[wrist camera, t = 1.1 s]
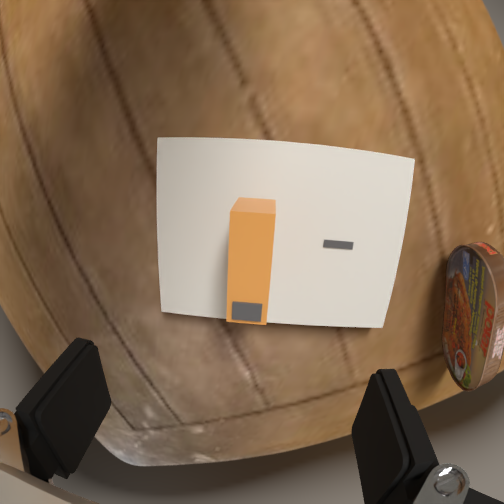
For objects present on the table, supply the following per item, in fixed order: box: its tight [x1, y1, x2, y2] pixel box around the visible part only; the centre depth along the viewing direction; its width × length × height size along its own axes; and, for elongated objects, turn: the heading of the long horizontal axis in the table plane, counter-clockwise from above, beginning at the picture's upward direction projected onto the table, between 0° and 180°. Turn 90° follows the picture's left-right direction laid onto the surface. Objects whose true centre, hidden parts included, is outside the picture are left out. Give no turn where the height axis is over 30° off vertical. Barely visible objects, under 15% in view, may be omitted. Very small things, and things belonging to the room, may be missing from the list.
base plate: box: [157, 137, 415, 328], centre depth 25 cm, size 15×20×4 cm
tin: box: [442, 242, 504, 391], centre depth 24 cm, size 15×3×8 cm, turn 12°
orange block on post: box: [226, 197, 276, 325], centre depth 21 cm, size 7×2×5 cm, turn 177°
